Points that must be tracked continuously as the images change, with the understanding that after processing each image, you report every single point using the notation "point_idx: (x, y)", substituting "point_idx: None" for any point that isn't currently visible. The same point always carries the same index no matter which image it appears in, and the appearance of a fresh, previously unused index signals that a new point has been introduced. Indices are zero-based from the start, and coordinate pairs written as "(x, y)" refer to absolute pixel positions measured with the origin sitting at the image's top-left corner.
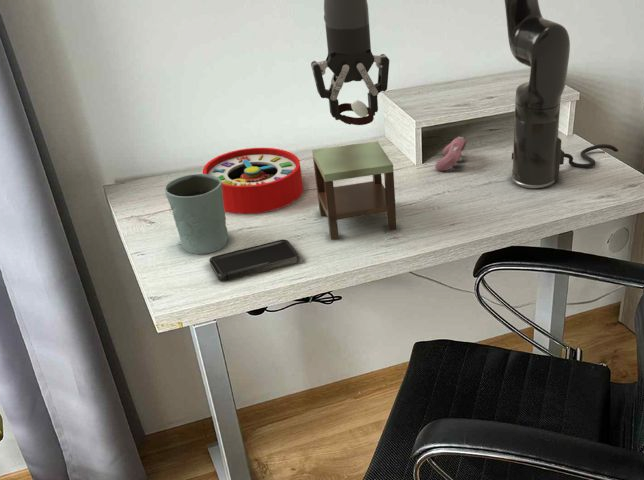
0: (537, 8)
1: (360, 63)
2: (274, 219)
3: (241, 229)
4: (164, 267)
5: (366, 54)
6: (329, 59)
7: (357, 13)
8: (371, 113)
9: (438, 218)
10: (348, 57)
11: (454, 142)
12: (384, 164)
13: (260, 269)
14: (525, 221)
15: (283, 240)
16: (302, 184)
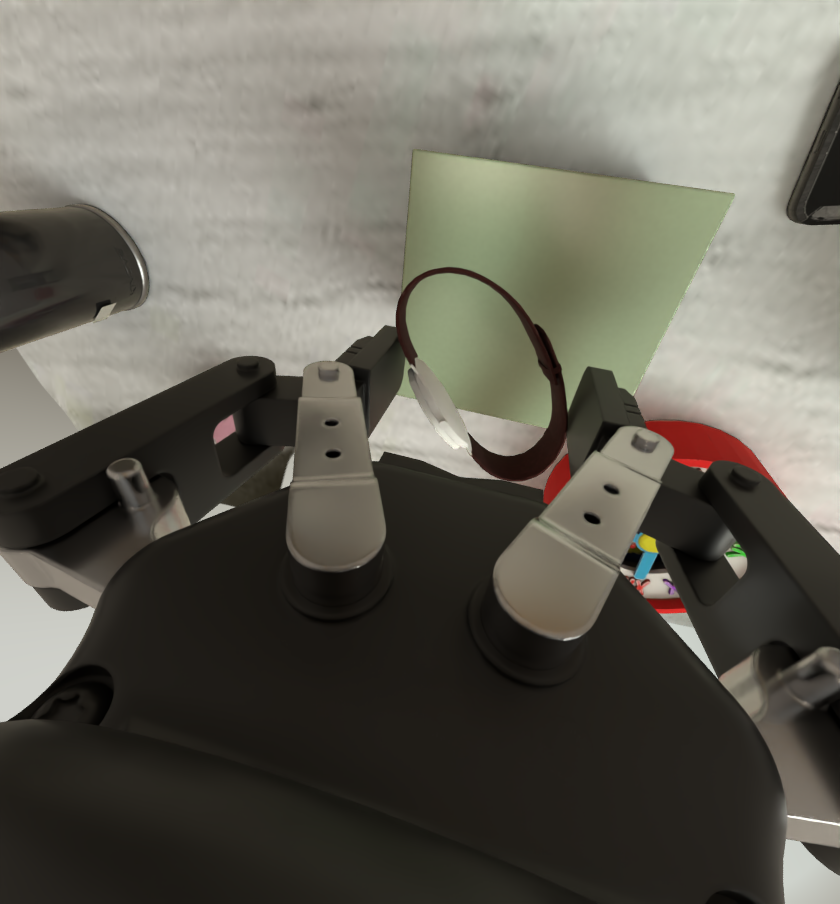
0: None
1: (309, 557)
2: (698, 379)
3: (806, 373)
4: None
5: (144, 659)
6: (777, 851)
7: None
8: (415, 278)
9: (339, 169)
10: (444, 738)
11: (221, 424)
12: (444, 171)
13: None
14: (125, 15)
15: (805, 217)
16: (557, 472)
